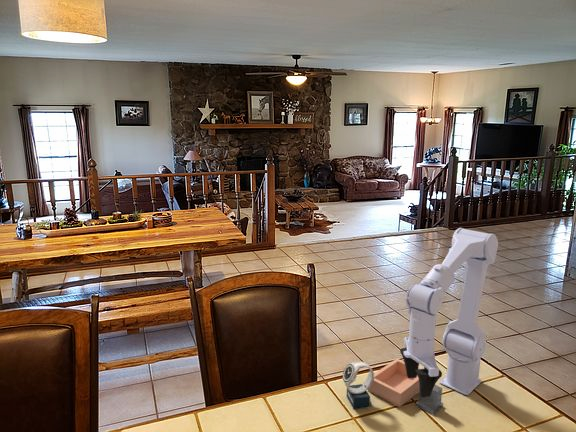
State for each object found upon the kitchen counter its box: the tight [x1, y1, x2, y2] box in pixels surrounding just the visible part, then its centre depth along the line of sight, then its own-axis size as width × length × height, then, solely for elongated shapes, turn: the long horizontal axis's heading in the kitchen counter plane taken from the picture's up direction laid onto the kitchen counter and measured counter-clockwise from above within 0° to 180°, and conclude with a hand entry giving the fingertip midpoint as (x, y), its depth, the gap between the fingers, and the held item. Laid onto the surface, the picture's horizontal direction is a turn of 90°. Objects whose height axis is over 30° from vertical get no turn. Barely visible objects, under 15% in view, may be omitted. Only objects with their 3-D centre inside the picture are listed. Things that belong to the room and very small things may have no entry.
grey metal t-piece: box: [415, 384, 444, 416], centre depth 115 cm, size 5×5×6 cm
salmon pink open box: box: [367, 358, 421, 408], centre depth 123 cm, size 14×10×4 cm
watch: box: [342, 361, 375, 410], centre depth 116 cm, size 6×8×11 cm
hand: (418, 386), depth 108 cm, fingers open, 7 cm apart
